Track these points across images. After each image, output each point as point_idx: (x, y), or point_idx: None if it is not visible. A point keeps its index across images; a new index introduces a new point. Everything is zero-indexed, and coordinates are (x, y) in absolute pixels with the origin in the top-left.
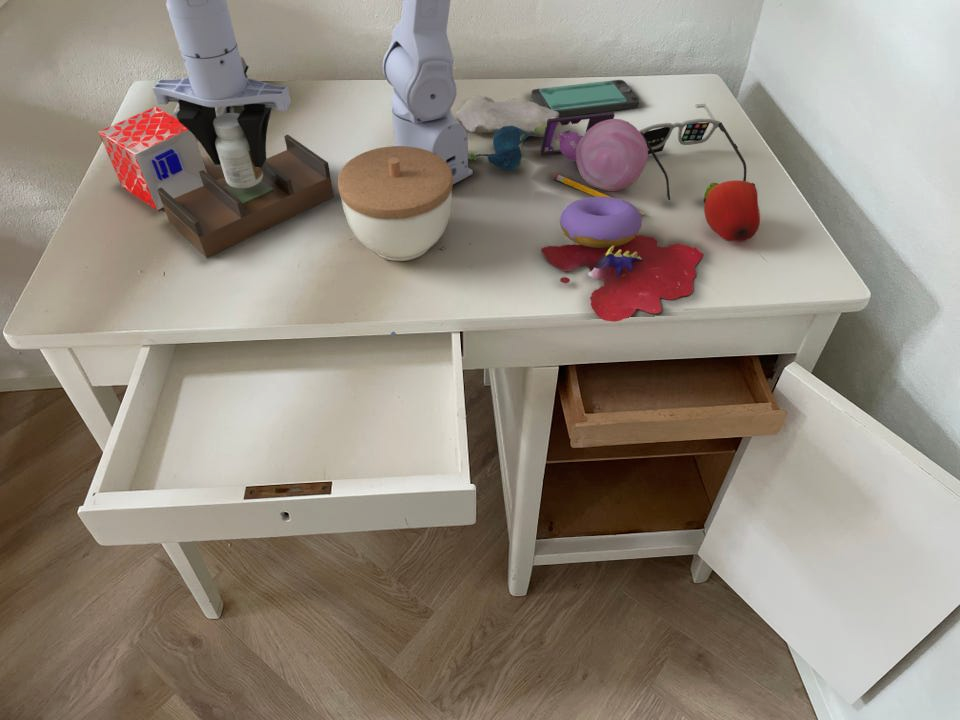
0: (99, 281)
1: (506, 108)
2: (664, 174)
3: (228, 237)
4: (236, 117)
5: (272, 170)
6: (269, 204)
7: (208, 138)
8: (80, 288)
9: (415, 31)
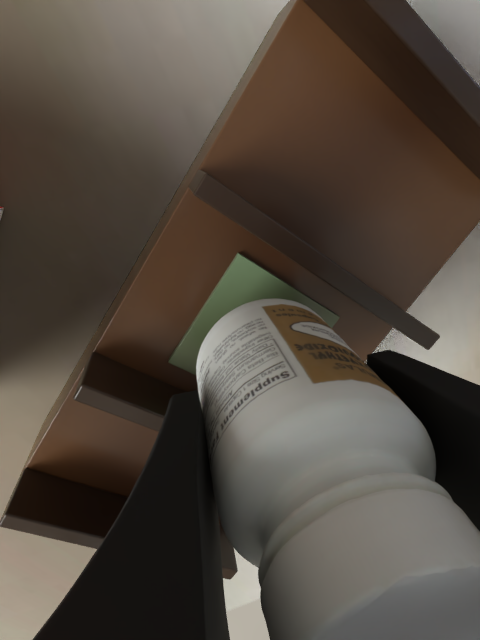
0: (41, 593)
1: None
2: None
3: None
4: (463, 610)
5: (363, 306)
6: None
7: (224, 612)
8: (20, 614)
9: None
